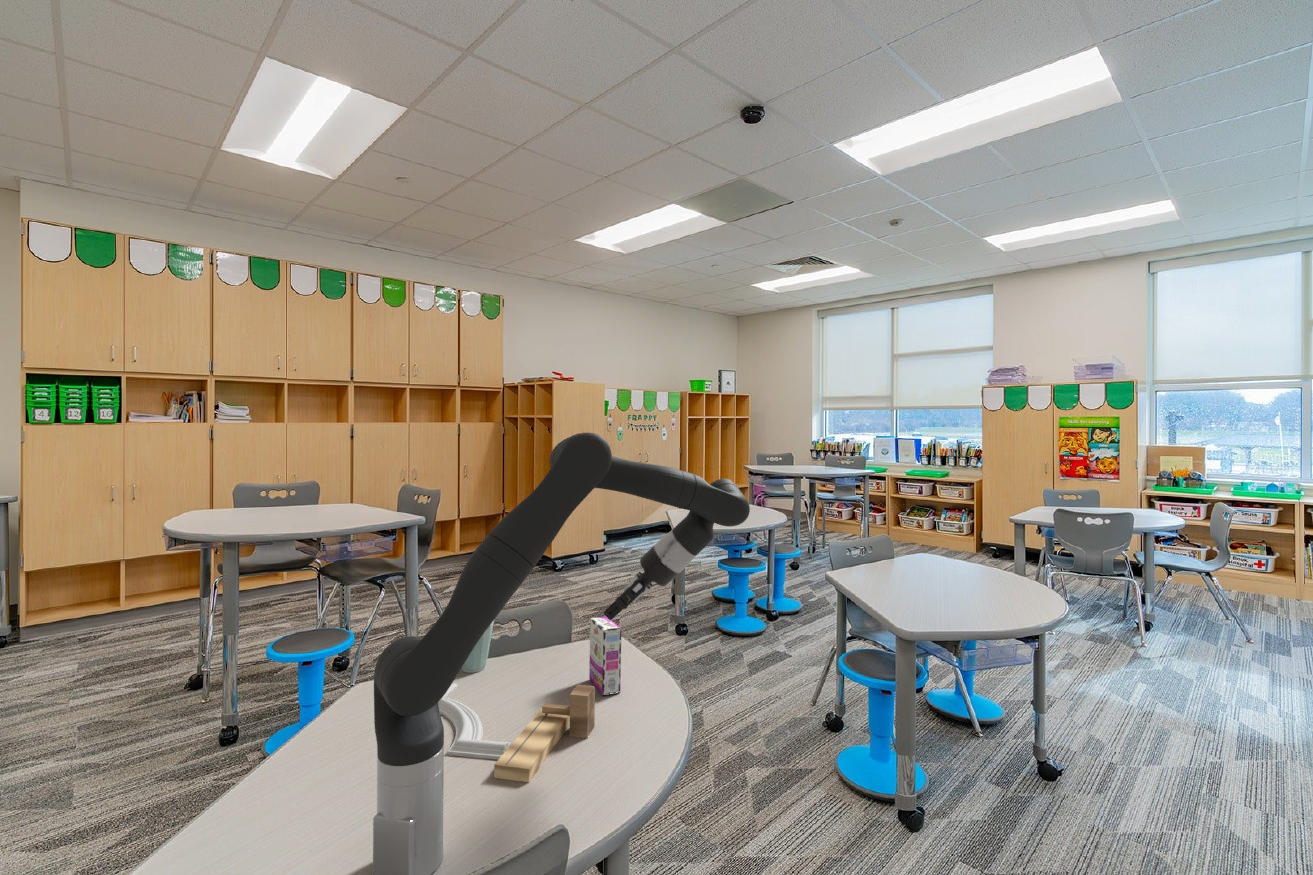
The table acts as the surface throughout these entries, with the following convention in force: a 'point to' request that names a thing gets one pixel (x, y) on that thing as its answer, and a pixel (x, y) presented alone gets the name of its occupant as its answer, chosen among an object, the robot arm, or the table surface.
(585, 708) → the wooden block with tab
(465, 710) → the molding
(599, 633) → the candy bar box
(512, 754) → the plank
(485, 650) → the disposable coffee cup
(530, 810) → the table surface
